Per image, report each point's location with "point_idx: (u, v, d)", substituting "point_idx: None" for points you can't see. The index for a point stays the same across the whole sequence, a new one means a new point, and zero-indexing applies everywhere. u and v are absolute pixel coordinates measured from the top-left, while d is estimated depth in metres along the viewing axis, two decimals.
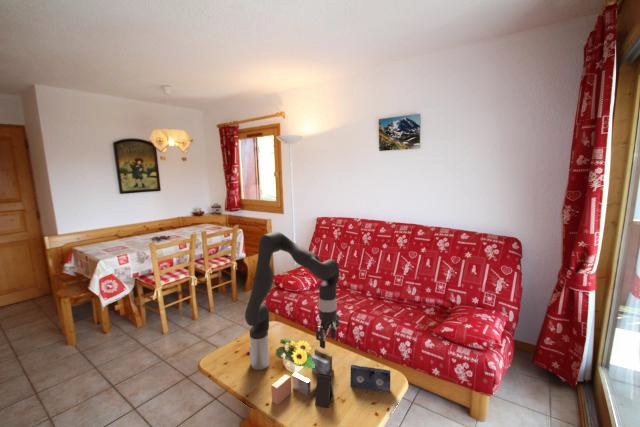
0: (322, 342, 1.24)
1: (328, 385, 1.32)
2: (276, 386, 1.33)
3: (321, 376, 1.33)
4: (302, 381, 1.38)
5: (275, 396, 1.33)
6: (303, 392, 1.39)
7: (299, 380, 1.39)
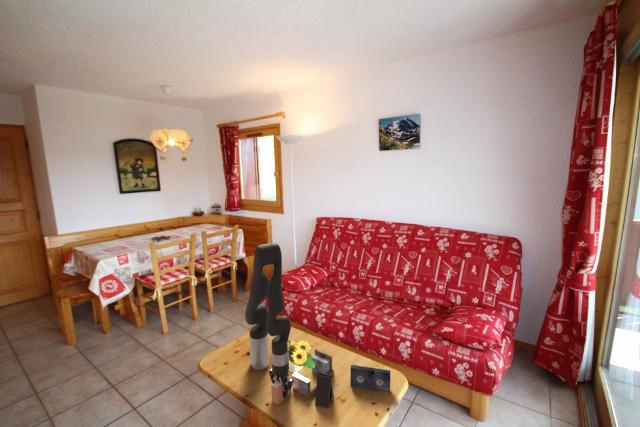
0: None
1: (328, 385, 1.32)
2: (276, 386, 1.33)
3: (321, 376, 1.33)
4: (302, 381, 1.38)
5: (275, 396, 1.33)
6: (303, 392, 1.39)
7: (299, 380, 1.39)
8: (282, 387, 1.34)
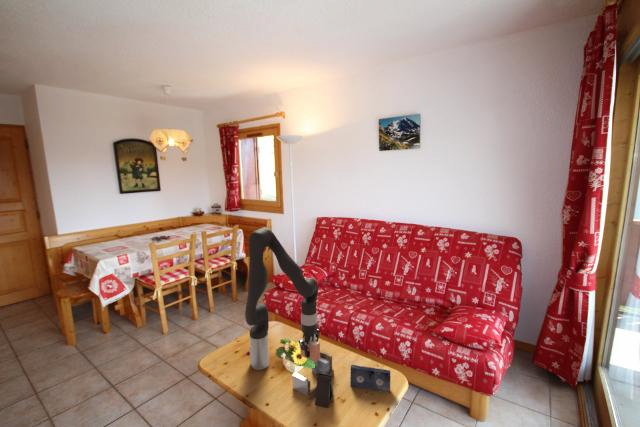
0: None
1: (328, 385, 1.32)
2: (317, 343, 1.41)
3: (321, 376, 1.33)
4: (302, 381, 1.38)
5: (318, 352, 1.42)
6: (303, 392, 1.39)
7: (299, 380, 1.39)
8: None
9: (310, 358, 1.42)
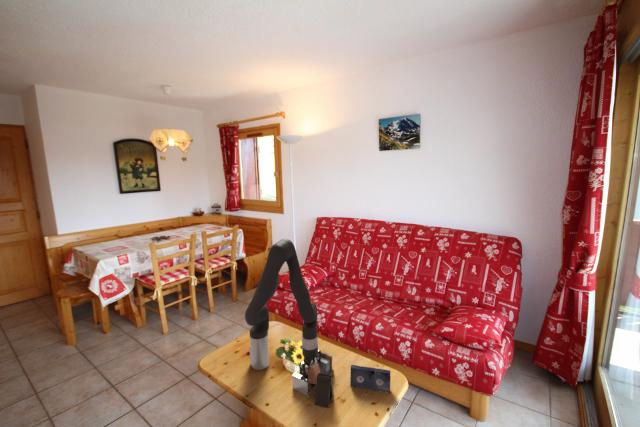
0: None
1: (328, 385, 1.32)
2: (315, 364, 1.44)
3: (321, 376, 1.33)
4: (302, 381, 1.38)
5: None
6: (303, 392, 1.39)
7: (299, 380, 1.39)
8: None
9: (312, 382, 1.43)
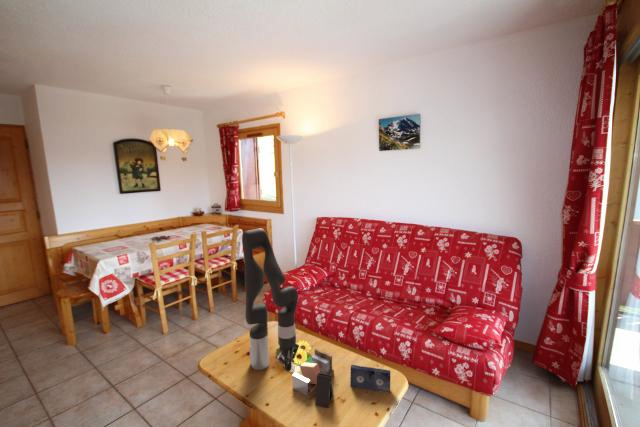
0: None
1: (328, 385, 1.32)
2: (315, 364, 1.44)
3: (321, 376, 1.33)
4: (302, 381, 1.38)
5: None
6: (303, 392, 1.39)
7: (299, 380, 1.39)
8: (290, 358, 1.31)
9: (312, 382, 1.43)
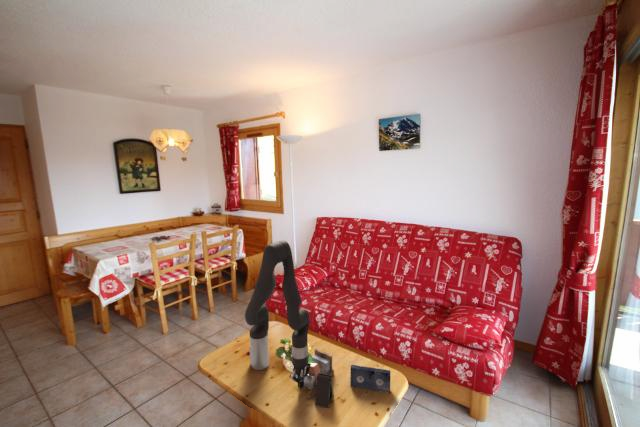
0: None
1: (328, 385, 1.32)
2: (315, 364, 1.44)
3: (321, 376, 1.33)
4: (308, 376, 1.41)
5: None
6: (309, 387, 1.42)
7: None
8: (303, 377, 1.39)
9: None
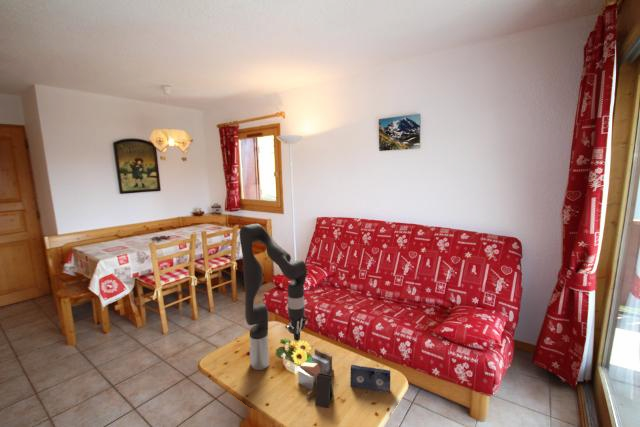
0: None
1: (328, 385, 1.32)
2: (315, 364, 1.44)
3: (321, 376, 1.33)
4: (308, 376, 1.42)
5: None
6: (309, 387, 1.42)
7: (305, 375, 1.43)
8: (299, 329, 1.38)
9: None
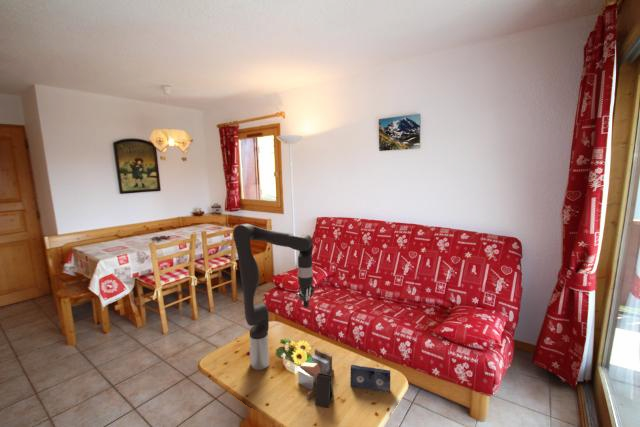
0: None
1: (328, 385, 1.32)
2: (315, 364, 1.44)
3: (321, 376, 1.33)
4: (308, 376, 1.42)
5: None
6: (309, 387, 1.42)
7: (305, 375, 1.43)
8: (308, 296, 1.54)
9: None
